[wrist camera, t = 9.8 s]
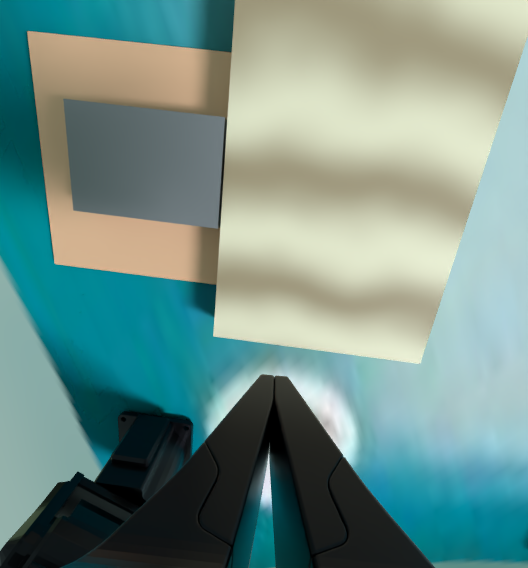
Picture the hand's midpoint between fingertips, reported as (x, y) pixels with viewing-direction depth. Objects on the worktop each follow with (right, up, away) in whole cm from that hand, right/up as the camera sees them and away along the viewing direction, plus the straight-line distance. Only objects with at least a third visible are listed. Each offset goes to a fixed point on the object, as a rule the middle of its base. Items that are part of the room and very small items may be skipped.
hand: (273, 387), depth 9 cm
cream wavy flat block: (+4, +9, +9) cm, 14 cm away
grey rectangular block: (-7, +11, +9) cm, 16 cm away
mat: (-9, +11, +10) cm, 17 cm away
